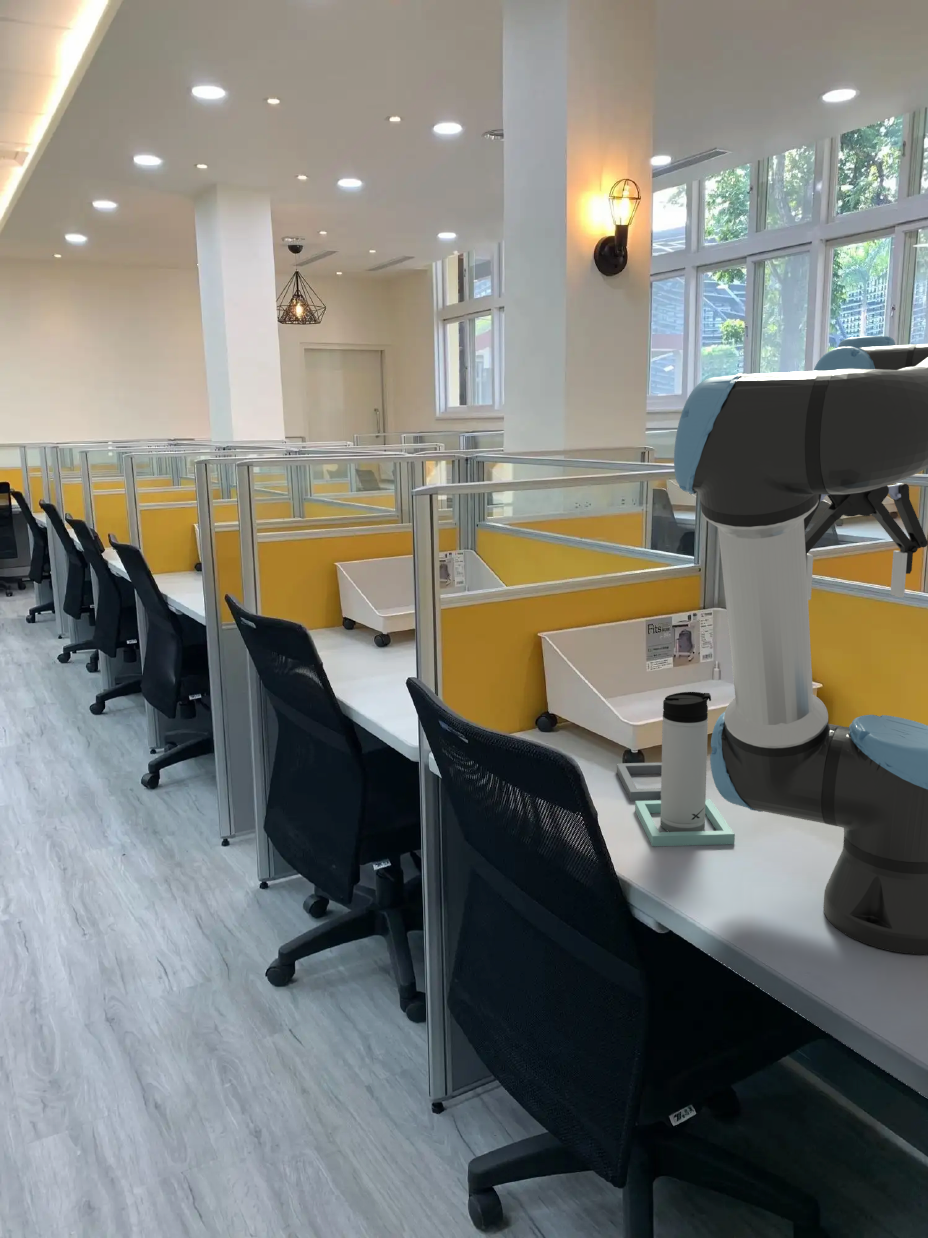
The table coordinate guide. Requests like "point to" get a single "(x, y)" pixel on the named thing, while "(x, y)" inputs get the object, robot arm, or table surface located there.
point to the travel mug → (684, 761)
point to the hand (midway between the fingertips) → (851, 597)
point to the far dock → (632, 791)
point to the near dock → (684, 838)
